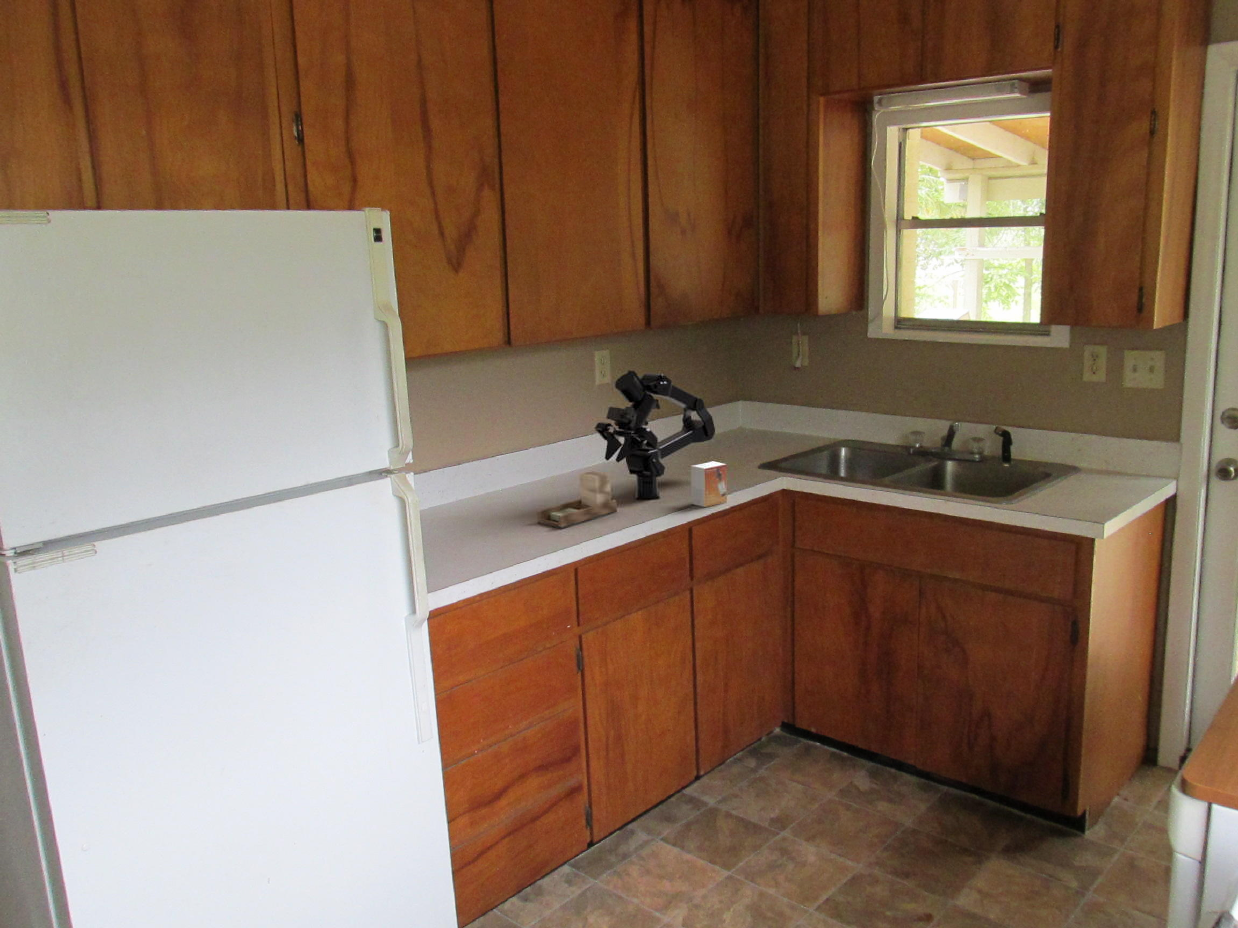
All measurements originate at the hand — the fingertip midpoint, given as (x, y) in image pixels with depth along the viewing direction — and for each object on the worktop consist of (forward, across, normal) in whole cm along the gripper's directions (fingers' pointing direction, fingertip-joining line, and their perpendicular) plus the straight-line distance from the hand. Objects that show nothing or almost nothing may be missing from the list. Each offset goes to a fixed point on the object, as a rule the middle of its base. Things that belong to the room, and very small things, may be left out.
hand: (611, 460), depth 272 cm
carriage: (+12, 0, +3) cm, 12 cm away
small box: (-3, +18, +22) cm, 29 cm away
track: (+18, 0, 0) cm, 18 cm away
